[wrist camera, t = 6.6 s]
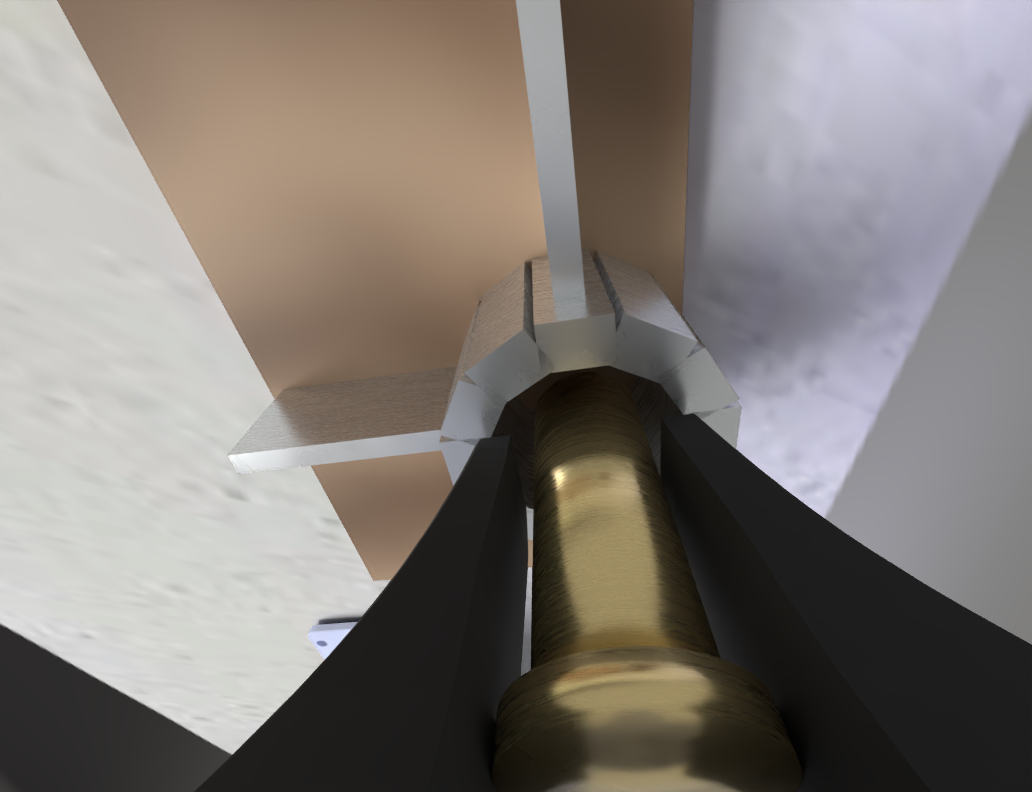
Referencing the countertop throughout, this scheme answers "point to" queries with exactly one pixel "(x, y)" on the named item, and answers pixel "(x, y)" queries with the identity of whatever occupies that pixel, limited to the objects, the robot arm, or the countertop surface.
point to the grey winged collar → (515, 335)
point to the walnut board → (391, 181)
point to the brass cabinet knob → (623, 629)
